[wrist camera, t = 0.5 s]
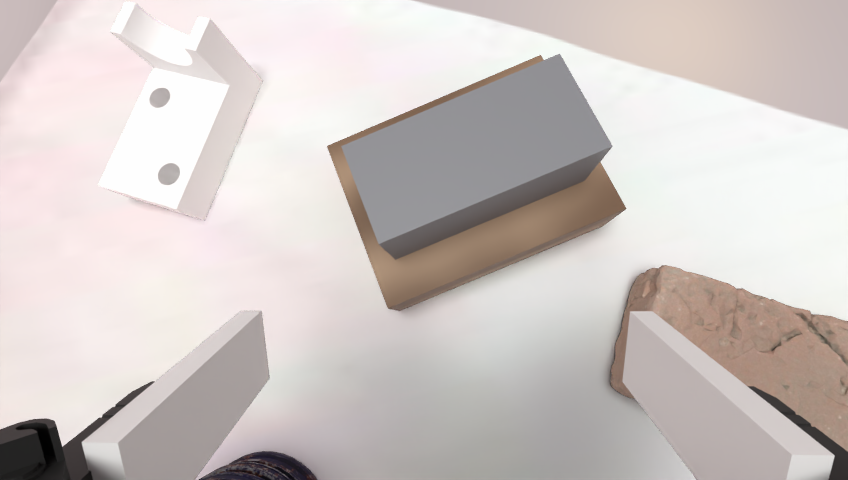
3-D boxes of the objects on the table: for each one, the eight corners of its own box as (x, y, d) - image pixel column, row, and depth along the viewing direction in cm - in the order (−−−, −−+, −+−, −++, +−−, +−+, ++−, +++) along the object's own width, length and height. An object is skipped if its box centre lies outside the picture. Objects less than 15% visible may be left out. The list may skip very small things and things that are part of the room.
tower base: (600, 227, 30) (626, 208, 25) (400, 311, 30) (387, 308, 25) (529, 95, 32) (540, 55, 27) (347, 172, 33) (326, 146, 28)
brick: (892, 349, 26) (983, 354, 21) (875, 483, 24) (968, 519, 20) (628, 270, 29) (658, 259, 24) (599, 386, 27) (625, 399, 23)
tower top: (584, 180, 25) (612, 146, 20) (395, 259, 26) (378, 244, 21) (542, 103, 27) (559, 53, 22) (363, 178, 27) (341, 146, 22)
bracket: (194, 66, 36) (125, 0, 29) (264, 83, 35) (210, 18, 28) (135, 199, 34) (42, 164, 27) (206, 221, 33) (131, 191, 25)
